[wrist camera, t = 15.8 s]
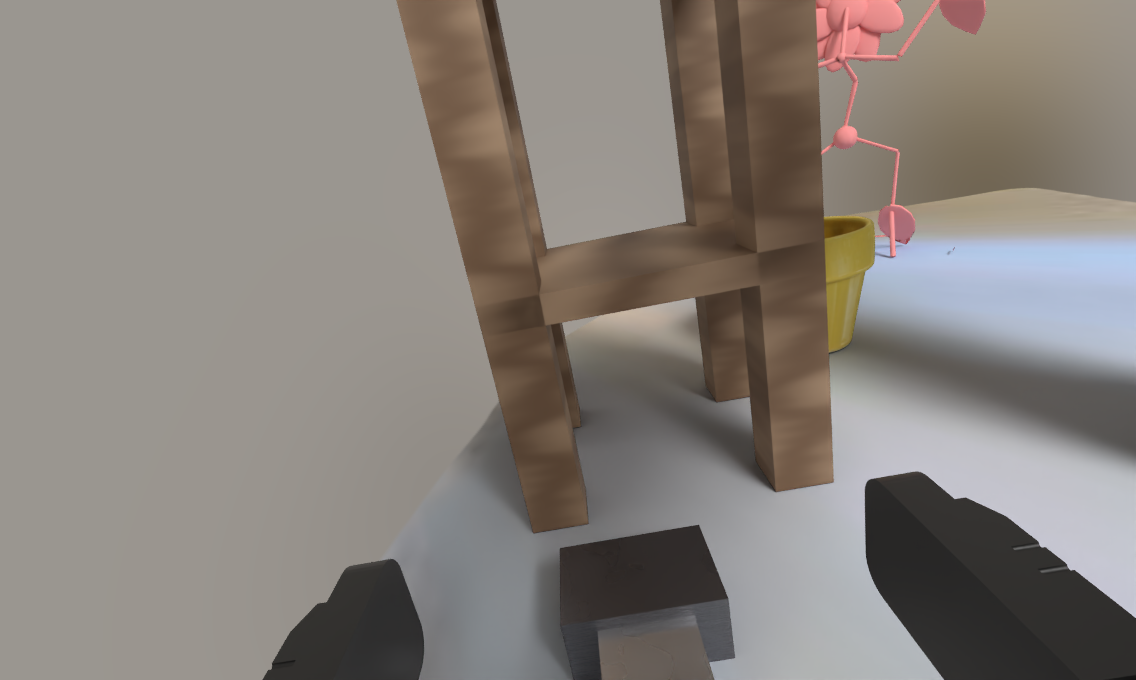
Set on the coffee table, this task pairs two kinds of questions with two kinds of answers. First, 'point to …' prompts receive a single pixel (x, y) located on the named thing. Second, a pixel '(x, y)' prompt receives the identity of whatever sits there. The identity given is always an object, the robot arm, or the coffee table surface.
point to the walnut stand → (648, 232)
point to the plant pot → (846, 272)
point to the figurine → (853, 26)
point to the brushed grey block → (644, 608)
